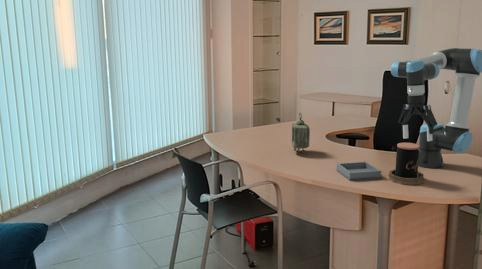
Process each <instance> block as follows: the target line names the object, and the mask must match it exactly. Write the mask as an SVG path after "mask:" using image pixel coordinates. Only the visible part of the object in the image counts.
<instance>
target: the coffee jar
mask: <svg viewBox="0 0 482 269" xmlns="http://www.w3.org/2000/svg"><path fill="white" fill-rule="evenodd" d="M396 146H397V148H396V156H395V158H396V159H395V168H394V169H395V176H398V177H402V178H417V173H418V170H419V166H418V160H419V147H420V146H419V144H417V143H413V142H399V143H397V145H396Z"/></svg>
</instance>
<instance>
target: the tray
mask: <svg viewBox="0 0 482 269" xmlns="http://www.w3.org/2000/svg"><path fill="white" fill-rule="evenodd" d="M336 172H338V173H339V174H340V175H341V176H343V177H344V178H345V179H347V180H348V181H350V182H351V181H358V180H359V181H360V180H361V181H363V180H375V179H381V178H382V170H380V169H379V168H377V167H376V166H374V165H372V164H371V163H369V162H368V161H355V162H354V161H353V162H339V163H336Z"/></svg>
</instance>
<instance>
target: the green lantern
mask: <svg viewBox="0 0 482 269" xmlns="http://www.w3.org/2000/svg"><path fill="white" fill-rule="evenodd" d="M302 117H303V116H302V112H301V111H300V112H299V118H298V119H297V121H296V122H294V123H293V122H292V124H291V146H292V148H293V151H296V150H297V151H296V152H295V155H299V151H300V149H302V150H301V152H302V153H305V149H307V148H309V147H310V135H311V134H310V133H311V132H310V131H311V130H310V125H308V124H307V123H305V120H303V118H302Z"/></svg>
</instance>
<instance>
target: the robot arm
mask: <svg viewBox="0 0 482 269" xmlns="http://www.w3.org/2000/svg"><path fill="white" fill-rule="evenodd" d="M441 70H448V71H449V70H450V71H454V72H455V76H456V77H457V80H456V83H455V84H456V85H455V90H454V94H453V95H454V96H453V101H452V106H451V111H450V118H449V122H448V123H446V124H445V125H444V124H443V123H441V122H440V123H438V122H437V120H436V117H435V116H434V113H433V111H432V106H431V105H430V104H427V105H425V103H426V96H425V93H426V92H425V91H426V90H425V81H429V80H433V79H436V78H438V76H439V74H440V71H441ZM390 73H391V74H390V75H392V76H393V77H396V78H403V79H405V78H406V83H407V84H406V87H407V94H408V95H407V103H406V104H403V105H402V110H401V113H400V115H399V118H398V120H397V123H398V124H400V125H401V132H402V138H403V139H409V124H408V123H409V121H410V120H411V118H412V116H413V115H416V116H418V115H419V116H420V117H421V118H422V120H423V121H424V122H425V123H423V124H422V125H421V126H420V128H419V129H420V130H419V139H418V140H419V142H418V145H419V146H420V147H419V149H418V150H419V160H418V167H421V168H427V169H438V168H442V167H444V158H443V156H442V150H446V151H450V152H453V153H465V152H466V151H467V150H469V148H470V146H471V145H472V142H473V133H472V132H471V131H470V126H469V125H468V120H469V115H470V110H471V105H472V99H473V94H474V89H475V83H476V79H478V78H479V77H480V75H481V74H482V49H478V48H457V47H454V48H453V47H452V48H451V47H450V48H447V49H443V50H439V51H434V52H433V53H432V54H430V55H426V56H422V57H419V58H415V59H411V60H406V61H394V62H393V63H392V65H391V67H390ZM444 126H445V127H444Z"/></svg>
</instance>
